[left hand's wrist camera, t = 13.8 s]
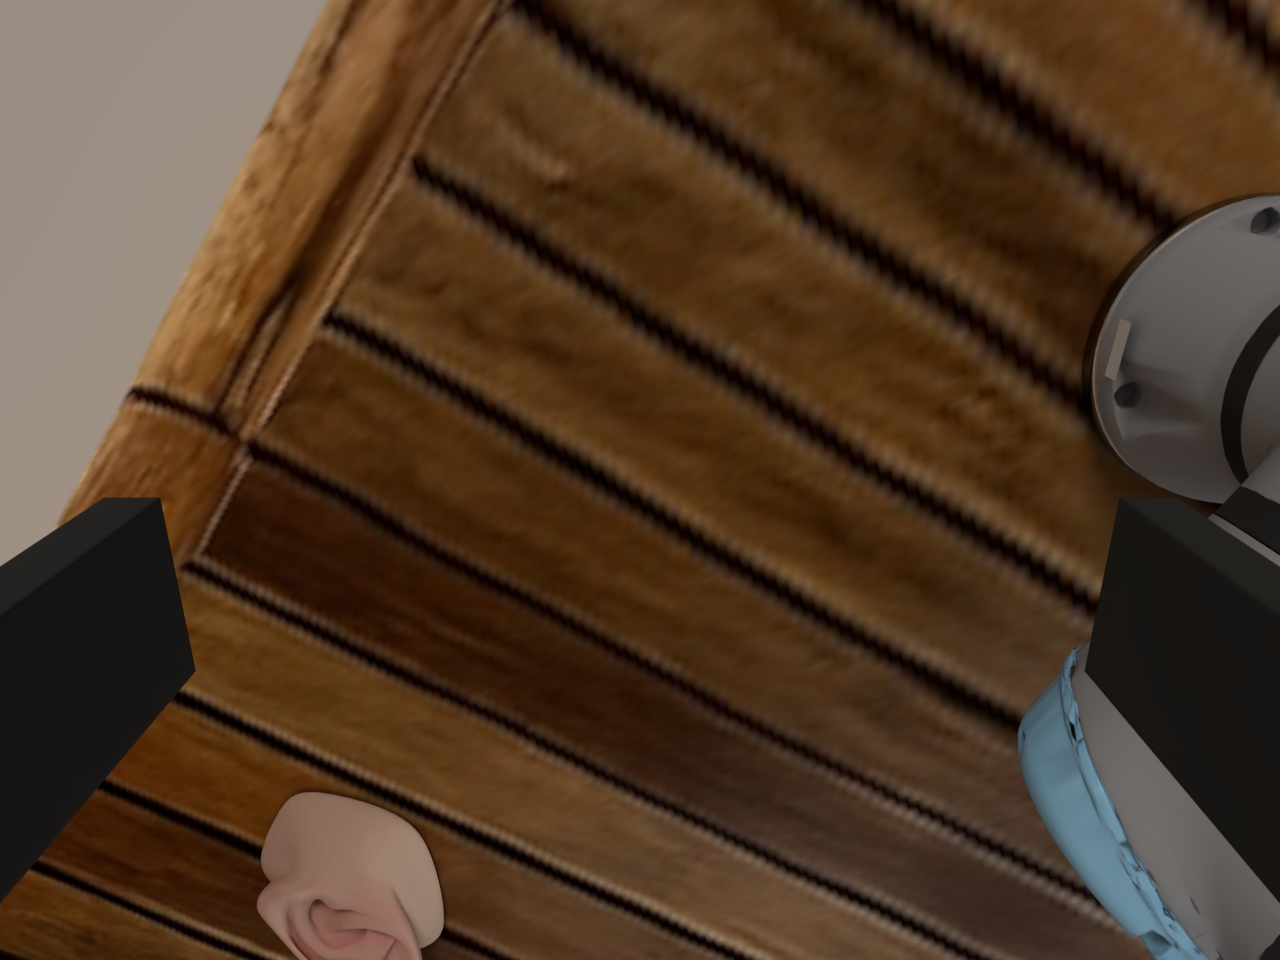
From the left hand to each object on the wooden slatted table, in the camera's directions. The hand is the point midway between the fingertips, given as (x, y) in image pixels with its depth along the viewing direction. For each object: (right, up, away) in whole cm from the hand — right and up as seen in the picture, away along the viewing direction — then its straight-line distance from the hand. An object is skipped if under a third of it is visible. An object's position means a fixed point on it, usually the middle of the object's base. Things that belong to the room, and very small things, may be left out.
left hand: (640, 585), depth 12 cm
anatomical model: (-18, -24, +45) cm, 54 cm away
